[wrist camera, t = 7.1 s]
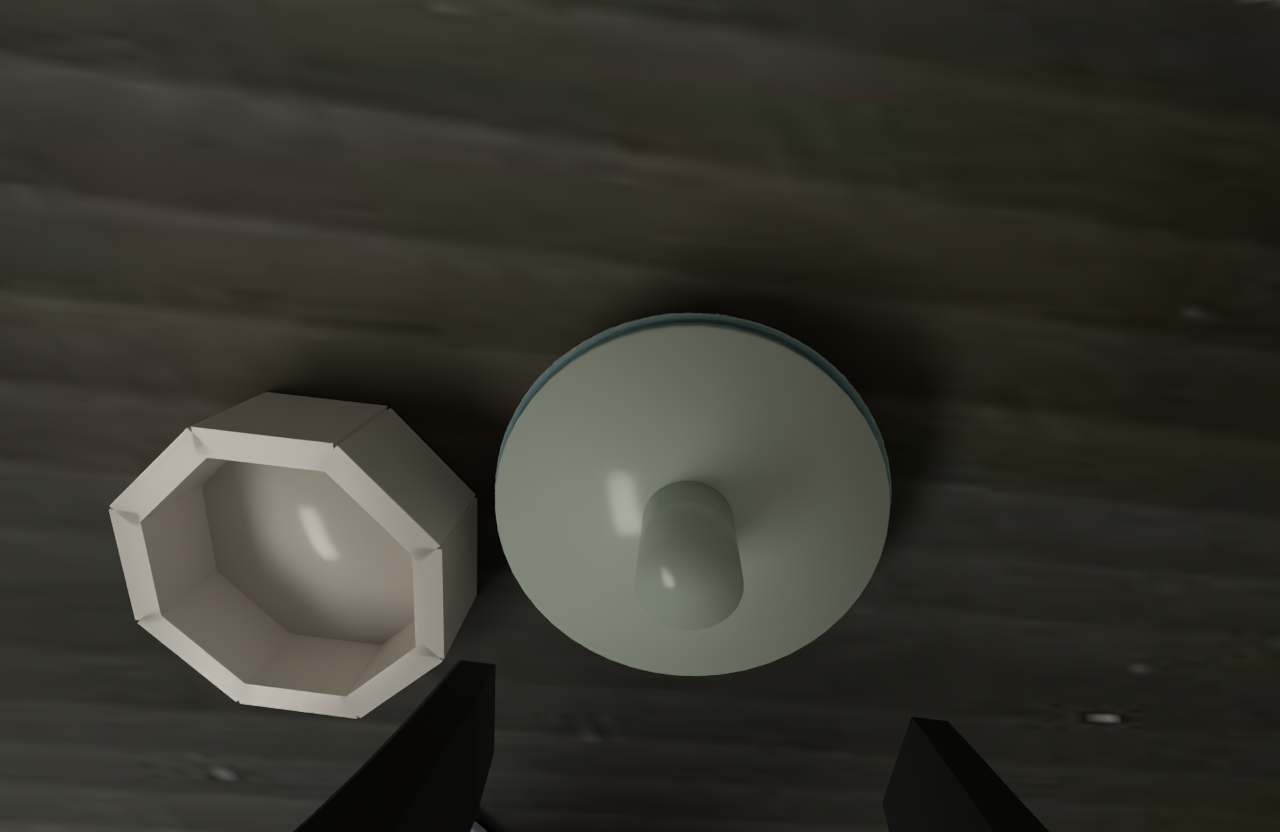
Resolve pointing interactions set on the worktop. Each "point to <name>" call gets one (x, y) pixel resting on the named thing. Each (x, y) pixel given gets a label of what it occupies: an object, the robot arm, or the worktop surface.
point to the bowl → (301, 553)
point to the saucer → (706, 318)
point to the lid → (692, 499)
